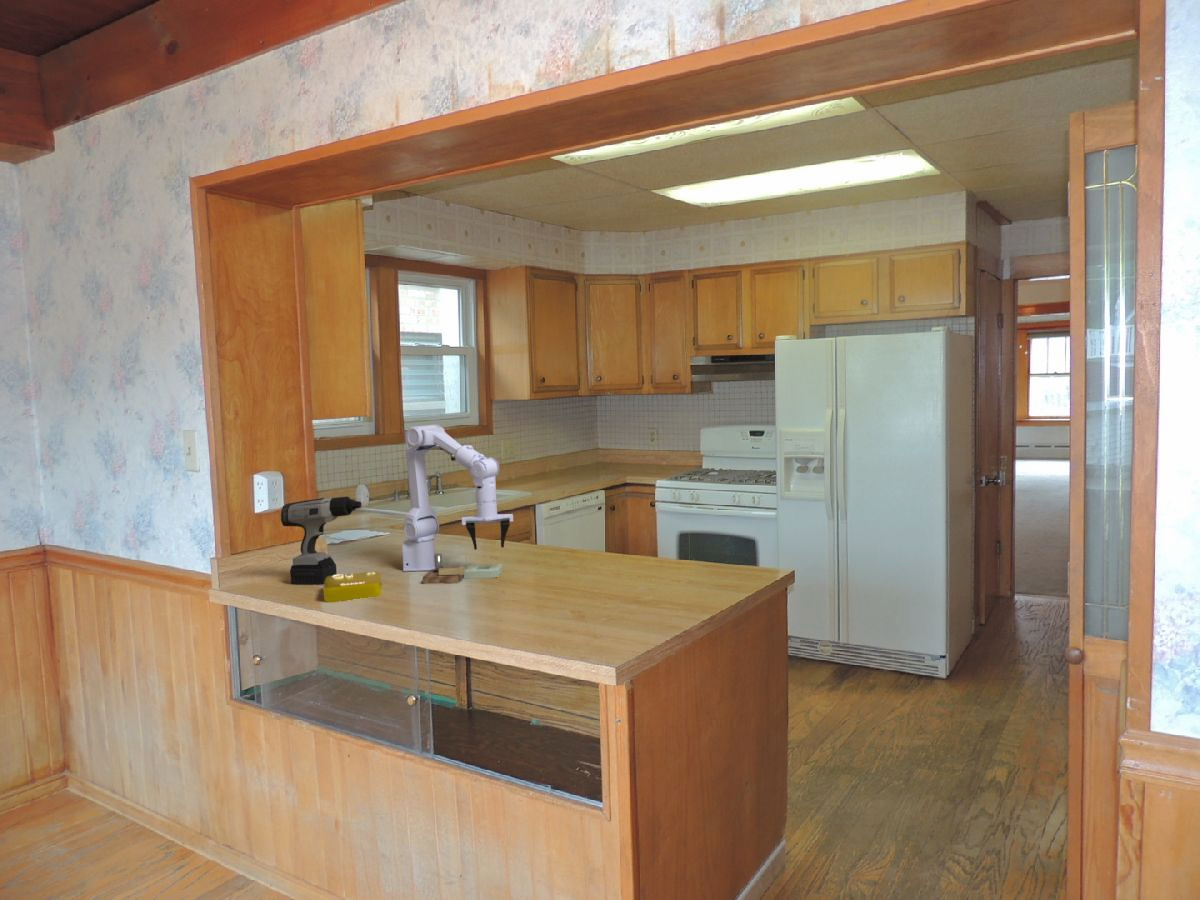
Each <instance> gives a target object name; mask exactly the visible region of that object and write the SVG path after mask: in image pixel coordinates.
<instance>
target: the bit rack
mask: <svg viewBox="0 0 1200 900" xmlns="http://www.w3.org/2000/svg"><path fill="white" fill-rule="evenodd" d="M503 572H504V564H501V563H499V564H498V563H497V564H469V565H468V566H467V567H465V574H464V577H463V578H464V579H487V578H489V579H490V578H494V577H495V578H496V577H498V578H499V577H500V576H501V575H502V573H503ZM500 574H501V575H500ZM495 578H494V579H495Z"/></svg>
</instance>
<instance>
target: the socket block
mask: <svg viewBox="0 0 1200 900" xmlns="http://www.w3.org/2000/svg"><path fill="white" fill-rule="evenodd" d="M463 578H464V575H439V573H435V569H433V570H428V571H427V572H426V574H423V576H422V583H444V584H459V583H460V582H461V581H462V579H463ZM459 581H460V582H459ZM458 582H459V583H458Z"/></svg>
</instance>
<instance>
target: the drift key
mask: <svg viewBox="0 0 1200 900" xmlns="http://www.w3.org/2000/svg"><path fill="white" fill-rule="evenodd" d="M465 570H466V566H465V565H460V566H459V567H443V568H440V569H439V575H464V574H465Z"/></svg>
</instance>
